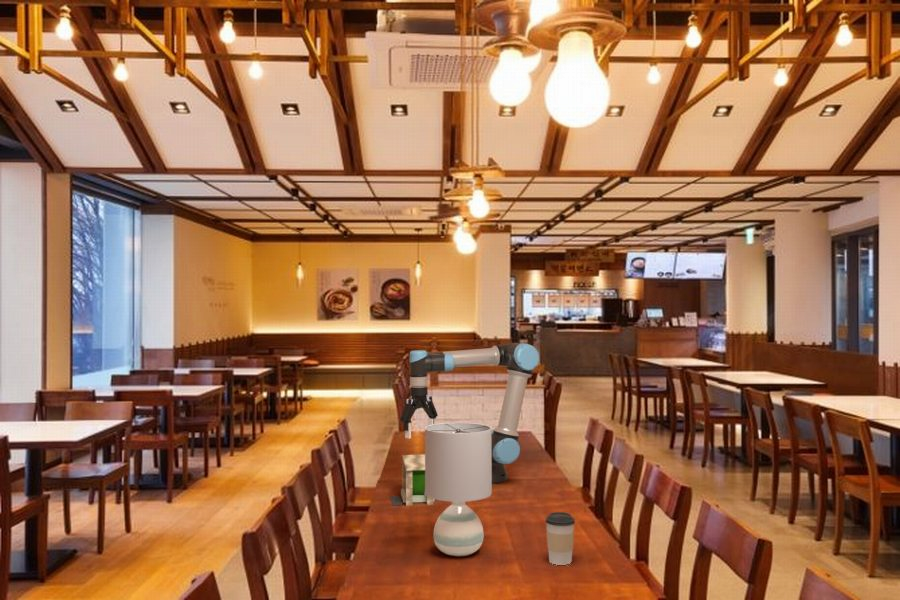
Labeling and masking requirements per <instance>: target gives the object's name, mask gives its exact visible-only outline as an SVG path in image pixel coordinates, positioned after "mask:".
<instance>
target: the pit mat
mask: <svg viewBox="0 0 900 600" xmlns="http://www.w3.org/2000/svg"><path fill="white" fill-rule="evenodd" d="M389 497H390V502H391V505H392V506H403V501H402V497H401V495H392V496H389Z"/></svg>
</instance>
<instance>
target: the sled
mask: <svg viewBox="0 0 900 600" xmlns="http://www.w3.org/2000/svg"><path fill="white" fill-rule="evenodd" d="M400 497H401V501H402V504H403V503H404V504H406V489H402V488H400ZM435 500H436V499H433V503H434V502H435ZM412 503H427V496H426V494H425V493H424V495H413V496H412Z"/></svg>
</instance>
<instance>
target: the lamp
mask: <svg viewBox="0 0 900 600" xmlns="http://www.w3.org/2000/svg"><path fill="white" fill-rule="evenodd" d="M491 430H492V426H489V425H488V424H482V423H475V422H444V423H443V422H442V423H434V424H433V425H429V426H428V425H427V426H425V427H424V454H425V494H424V495H426V496H428V497H430V498H432V499H435V500H437V501H441V502H451V504H450V505H448V507H446V508H445V509H444V510H443V511H442V512H441V513H440V515H439V516H438V518H437V520H436V521H435V524H434V527H433V528H434V529H433V541H434V545H435V546H436V548H437V549H438V550H439V551H440V552H442V553H443V554H445V555H446V556H447V555H448V556H451V557H466V556H470V555H473V554H474V553H476V552H477V551H478V550H479V549H480V548H481V546H482V544H483V542H484V526H483V524H482V521H481V519H480V518H479V516H478V515H477V514H476V512H475V511H474V510H473V509H472V508H470V507H469V506H468V504H466V502H475V501H480V500H484V499H487V498H489V497H491V495H492V492H493V490H492V489H493V488H492V485H493V483H492V447H491Z"/></svg>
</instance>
